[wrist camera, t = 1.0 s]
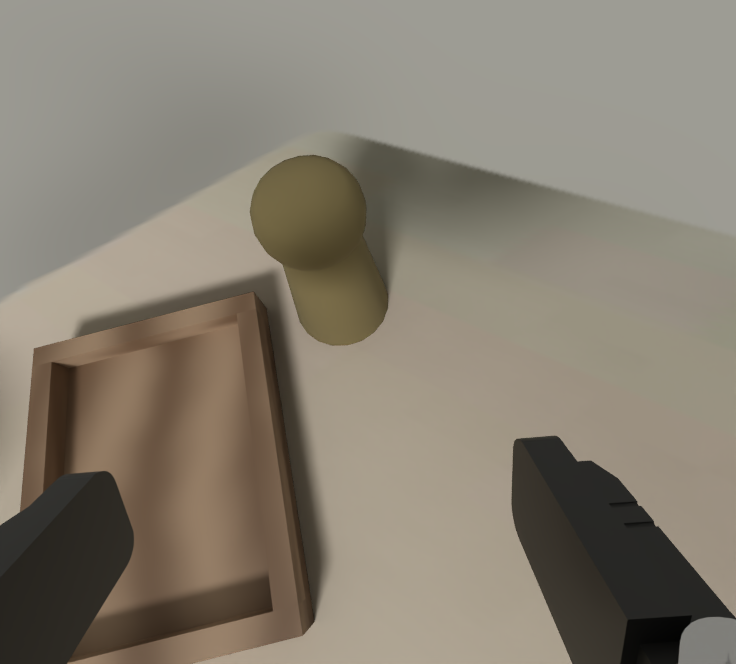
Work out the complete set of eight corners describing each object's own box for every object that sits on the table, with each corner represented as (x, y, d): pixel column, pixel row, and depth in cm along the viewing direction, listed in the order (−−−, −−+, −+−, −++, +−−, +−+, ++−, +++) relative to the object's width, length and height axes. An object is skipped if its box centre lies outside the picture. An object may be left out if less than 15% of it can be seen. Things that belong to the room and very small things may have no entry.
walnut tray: (266, 308, 28) (253, 291, 26) (314, 621, 21) (302, 635, 19) (63, 360, 28) (33, 348, 26) (46, 689, 21) (3, 710, 19)
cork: (283, 286, 29) (211, 167, 19) (364, 248, 29) (336, 112, 19) (318, 361, 26) (256, 274, 16) (404, 319, 27) (397, 209, 17)
